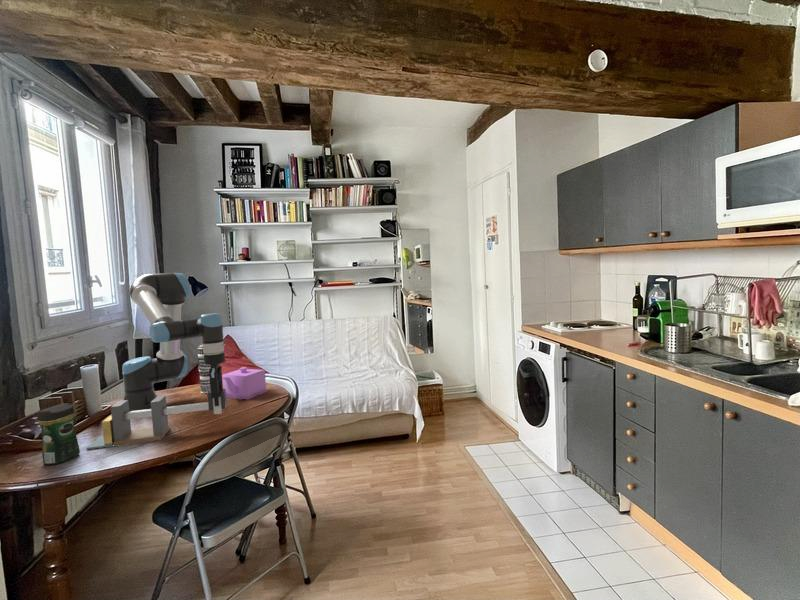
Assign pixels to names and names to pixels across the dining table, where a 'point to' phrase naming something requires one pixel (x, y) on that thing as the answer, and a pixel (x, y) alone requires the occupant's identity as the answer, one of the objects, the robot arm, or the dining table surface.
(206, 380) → the decorative candle
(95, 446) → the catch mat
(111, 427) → the spacer
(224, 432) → the dining table surface
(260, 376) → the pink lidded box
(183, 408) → the shaft
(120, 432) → the bracket
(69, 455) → the coffee jar
